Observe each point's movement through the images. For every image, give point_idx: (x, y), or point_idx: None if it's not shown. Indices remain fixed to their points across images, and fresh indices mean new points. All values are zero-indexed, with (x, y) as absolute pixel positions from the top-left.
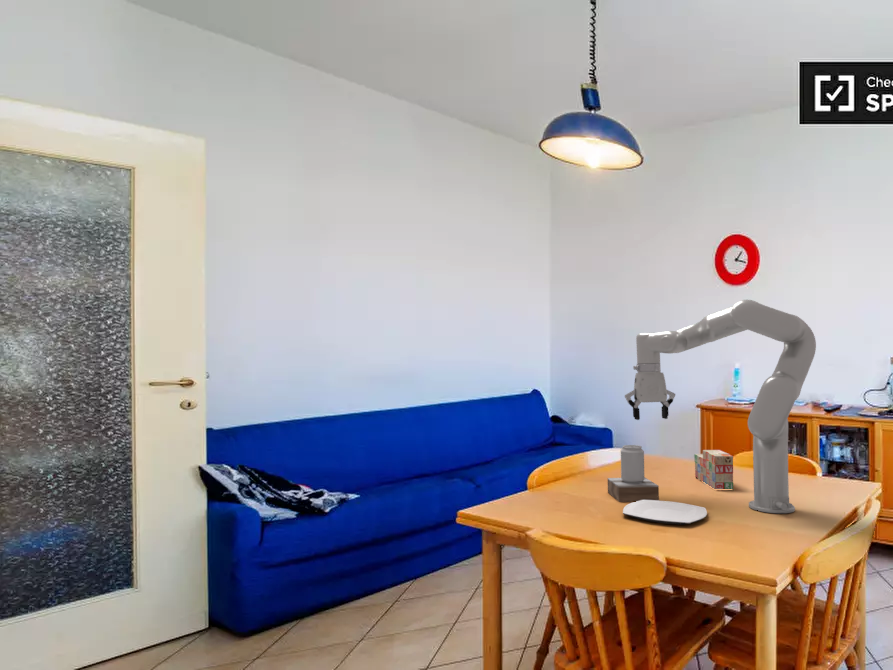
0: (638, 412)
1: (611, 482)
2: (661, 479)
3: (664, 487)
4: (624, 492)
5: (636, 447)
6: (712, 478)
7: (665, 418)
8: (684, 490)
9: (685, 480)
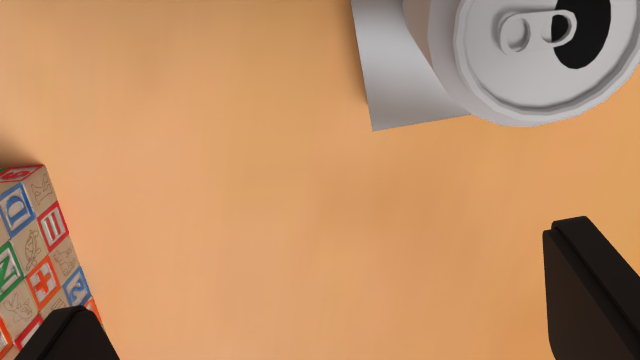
0: (634, 302)
1: None
2: (257, 345)
3: (263, 206)
4: None
5: (498, 49)
6: (28, 221)
7: (88, 312)
8: (179, 156)
9: (161, 334)
